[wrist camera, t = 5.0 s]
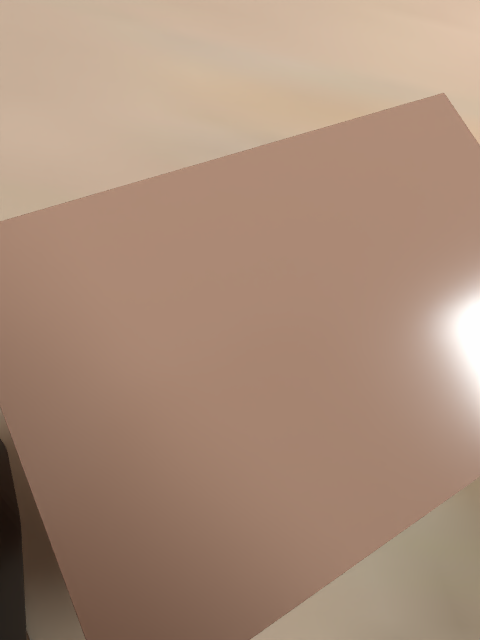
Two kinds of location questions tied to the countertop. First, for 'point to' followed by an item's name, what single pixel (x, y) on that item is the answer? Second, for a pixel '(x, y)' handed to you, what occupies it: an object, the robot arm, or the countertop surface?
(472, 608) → the countertop surface
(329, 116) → the countertop surface
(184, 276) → the clay block
